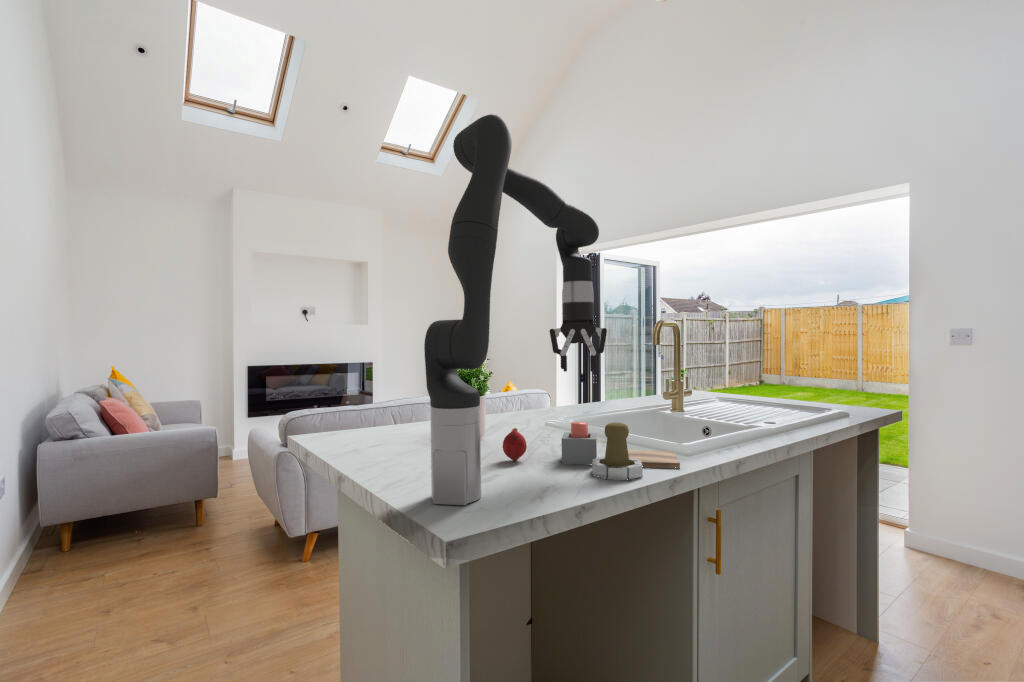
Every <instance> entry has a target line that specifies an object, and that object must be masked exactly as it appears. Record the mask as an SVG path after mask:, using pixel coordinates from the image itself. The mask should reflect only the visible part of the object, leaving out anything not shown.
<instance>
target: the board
mask: <svg viewBox="0 0 1024 682" xmlns="http://www.w3.org/2000/svg"><path fill="white" fill-rule="evenodd" d="M628 455H629V457H630V458H634V459H638V460H640V461H641V462H642V466H643V467H642V468H649V467H663V468H662V469H681V463H680V461H679V460H678V457H677V456H676V455H675V453H674V451H671V450H646V449H645V450H639V449H628ZM675 467H676V468H675Z"/></svg>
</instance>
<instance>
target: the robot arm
mask: <svg viewBox="0 0 1024 682" xmlns="http://www.w3.org/2000/svg"><path fill="white" fill-rule="evenodd" d="M512 142H513V141H512V134H511V130H510V128H509V126H508V124H507V122H506V121H505V119H503V117H501V116H499V115H497V114H492V113H491V114H486V115H483V116H481V117H479V118H477V119H476V120H475V121H473V122H471V123H470V124H469V125H467V126H466V127H465V128H463V129H462V130H461V131H459V132H458V133H457V134H456V136H455V137H454V140H453V145H452V148H453V153H454V157H456V160H457V161H458V162H459V164H460V165H461V166H462V167H463V168H464V169H465V170H466V171H468V172H470V173H471V177H470V180H469V182H468V184H467V187H466V189H465V191H464V192H463V194H462V196H461V199H460V201H459V202H458V204H457V207H456V208H455V211H454V214H453V216H452V220H451V224H450V229H449V230H450V231H449V237H448V245H447V254H448V257H449V258H448V259H449V262H450V264H451V266H452V268H453V270H454V272H455V274H456V277H457V279H458V281H459V283H460V285H461V289H462V292H463V299H464V300H463V301H464V303H463V304H464V305H463V314H462V319H441V320H435V321H434V322H432V323H431V324H430V325H429V326H428V328H427V330H426V333H425V335H424V336H425V338H424V348H423V349H424V365H425V381H426V390H427V393H428V396H429V401H430V402H429V404H430V463H431V464H430V469H431V471H430V477H431V478H430V479H431V500H432V504H434V505H447V506H448V505H453V506H467V505H468V504H470V503H473V502H475V501H478V500H480V499H481V497H482V468H481V467H482V466H481V464H482V462H481V458H482V457H481V397H480V395H481V394H480V391H479V390H478V389H477V388H475V387H473V386H471V385H470V384H468V383H466V382H465V381H463V380H462V379H461V377H460V376H459V374H458V373H459V372H458V370H476V369H479V368H481V367H482V366H483V365H484V363H485V361H486V358H487V355H488V350H489V344H490V321H491V320H490V319H491V314H490V313H491V293H492V292H491V291H492V290H491V289H492V282H493V281H492V280H493V279H492V278H493V272H494V271H493V270H494V264H495V257H496V252H497V251H496V250H497V241H498V232H499V220H500V219H499V218H500V212H501V207H502V198H503V193H504V194H505V195H507V196H509V198H511V199H513V200H514V201H516V202H518V203H519V204H520V205H521V206H523V207H524V208H526V209H527V210H528V211H529V212H530V213H531V214H532V215H533V216H534V217H535V218H536V219H538V220H539V221H540V222H541V223H542V224H544V225H545V226H547V227H548V228H550V229H556V233H555V242H556V246H557V251H558V254H559V257H560V261H561V264H562V288H561V290H562V292H561V296H562V297H561V298H562V299H561V304H562V305H561V307H562V310H561V311H562V315H561V317H562V321H561V322H562V324H561V325H560V327H558V328H550V329H549V335H550V341H551V346H552V347H551V348H552V351H553V352H552V353H554V354H557V355H559V357H560V368H561V370H563V372H567V371H568V355H567V352H568V350H569V348H570V346H571V344H586V345H587V348H588V350H589V352H590V357H589V358H590V359H589V364H590V365H589V368H590V369H589V371H590V372H593V373H594V370H596V368H597V356H598V355H600V354H603V353H605V352H604V351H605V346H606V339H607V333H608V329H607V328H606V327H602V328H601V327H597V325H595V311H594V308H595V305H594V300H595V297H594V295H595V294H594V287H593V285H594V284H593V262H592V260H591V259H590V258H588V257H585V256H581V254H580V250H579V248H585V247H588V246H592V245H593V244H594V243H596V242H597V241H598V239H599V235H600V228H599V226H598V223H597V222H596V220H595V219H594V217H592V216H591V215H590V214H589V213H587V212H585V211H584V210H582V209H580V208H579V207H576V206H575V205H574V204H573V205H572V204H571V203H568V202H566V200H564V198H562V197H561V196H560V195H559V193H557V191H555V189H553V188H552V187H551V186H550V185H548V184H547V183H545V182H543V181H542V180H540V179H537V178H535V177H531V176H529V175H527V174H524V173H522V172H519V171H517V170H515V169H514V168H511V167H509V164H510V158H511V154H512V149H513V148H512V144H513V143H512ZM595 332H596V333H597V336H598V337H600V341H599V347H598V348H596V349H595V347H594V345H593V342H592V340H591V338H592V337H593V336H594V334H595ZM560 333H562V335H563V336H564V338H565V339H566V340H565V341H564V344H563V346H562V349H561V348H559V344H558V338H559V336H560Z"/></svg>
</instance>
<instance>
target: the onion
mask: <svg viewBox="0 0 1024 682" xmlns="http://www.w3.org/2000/svg"><path fill="white" fill-rule="evenodd" d="M527 447H528V446H527V440H526V439H525V437H524V435H523V434H521V433H520V432H519V431H518V428H517V427H513V428H512V429H511V432H508V433H507V435H506V436H505V437H504V439H503V442H502V451H503V453H504V454H505V456H506V457H507V458H508V459H510V460H512V461H513V462H516V461H518V460H519V459H520V458H521V457H522V456H524V454H525V453H526V451H527Z"/></svg>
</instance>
